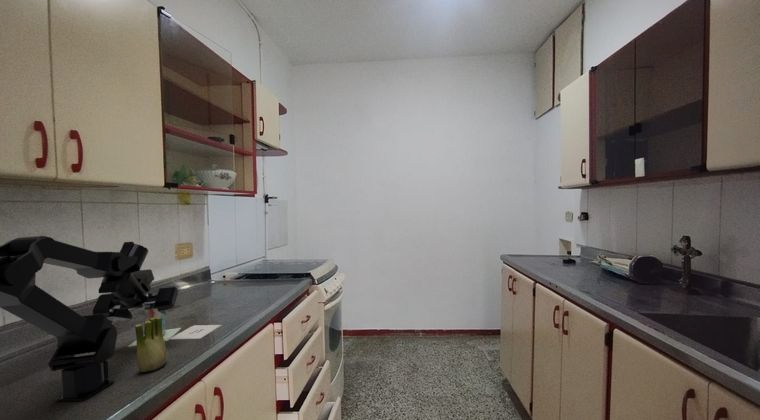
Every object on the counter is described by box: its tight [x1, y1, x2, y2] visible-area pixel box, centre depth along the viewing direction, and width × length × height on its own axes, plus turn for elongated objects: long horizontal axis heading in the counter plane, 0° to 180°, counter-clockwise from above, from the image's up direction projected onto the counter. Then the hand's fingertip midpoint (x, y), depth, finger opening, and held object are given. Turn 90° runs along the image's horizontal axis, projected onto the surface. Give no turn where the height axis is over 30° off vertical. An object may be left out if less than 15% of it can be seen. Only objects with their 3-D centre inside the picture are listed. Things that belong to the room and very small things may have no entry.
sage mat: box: [127, 327, 182, 348], centre depth 91 cm, size 10×10×1 cm
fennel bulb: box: [134, 317, 167, 373], centre depth 71 cm, size 6×5×12 cm
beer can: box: [143, 302, 167, 335], centre depth 91 cm, size 5×5×12 cm
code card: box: [168, 324, 222, 341], centre depth 93 cm, size 10×10×1 cm
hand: (149, 315), depth 88 cm, fingers open, 9 cm apart
